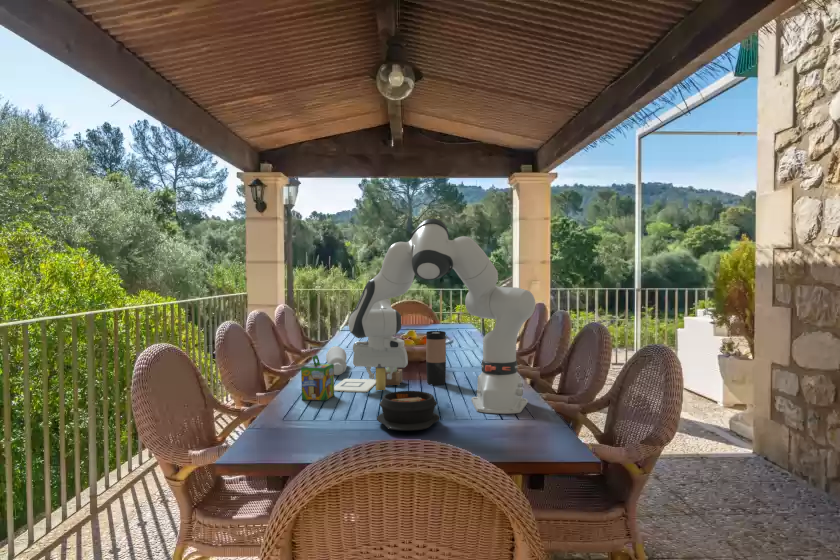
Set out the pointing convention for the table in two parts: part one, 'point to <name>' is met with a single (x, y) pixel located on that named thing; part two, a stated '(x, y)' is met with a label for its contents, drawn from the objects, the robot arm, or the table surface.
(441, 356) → the travel mug
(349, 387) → the drawing pad
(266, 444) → the table surface
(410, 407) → the casserole
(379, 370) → the spice shaker
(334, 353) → the bottle
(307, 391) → the chalk box
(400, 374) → the button housing
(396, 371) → the button
